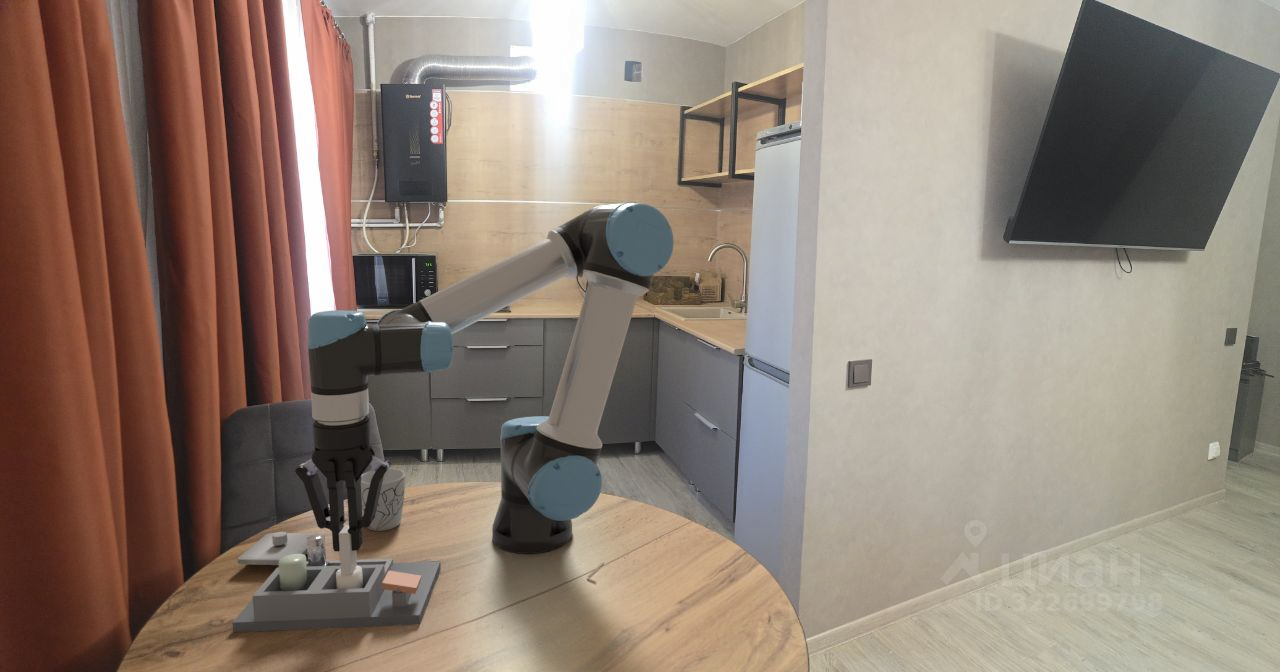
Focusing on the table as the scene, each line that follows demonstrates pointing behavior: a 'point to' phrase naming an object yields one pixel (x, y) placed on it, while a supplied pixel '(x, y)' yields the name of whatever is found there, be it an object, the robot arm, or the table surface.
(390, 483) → the mug
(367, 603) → the panel
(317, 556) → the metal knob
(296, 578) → the sage button
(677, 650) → the table surface
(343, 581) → the white button
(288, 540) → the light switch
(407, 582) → the block
